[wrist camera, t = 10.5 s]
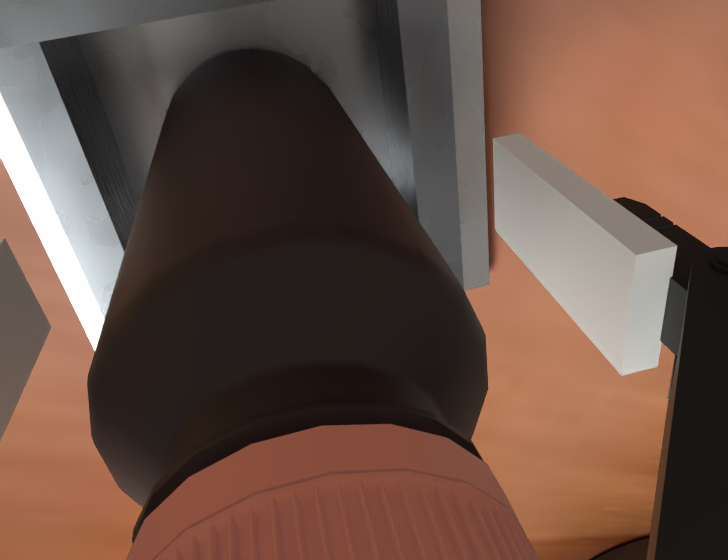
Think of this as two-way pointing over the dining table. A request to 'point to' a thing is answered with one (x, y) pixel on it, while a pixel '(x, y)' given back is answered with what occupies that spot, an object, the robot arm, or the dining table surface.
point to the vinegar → (290, 344)
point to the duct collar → (195, 48)
